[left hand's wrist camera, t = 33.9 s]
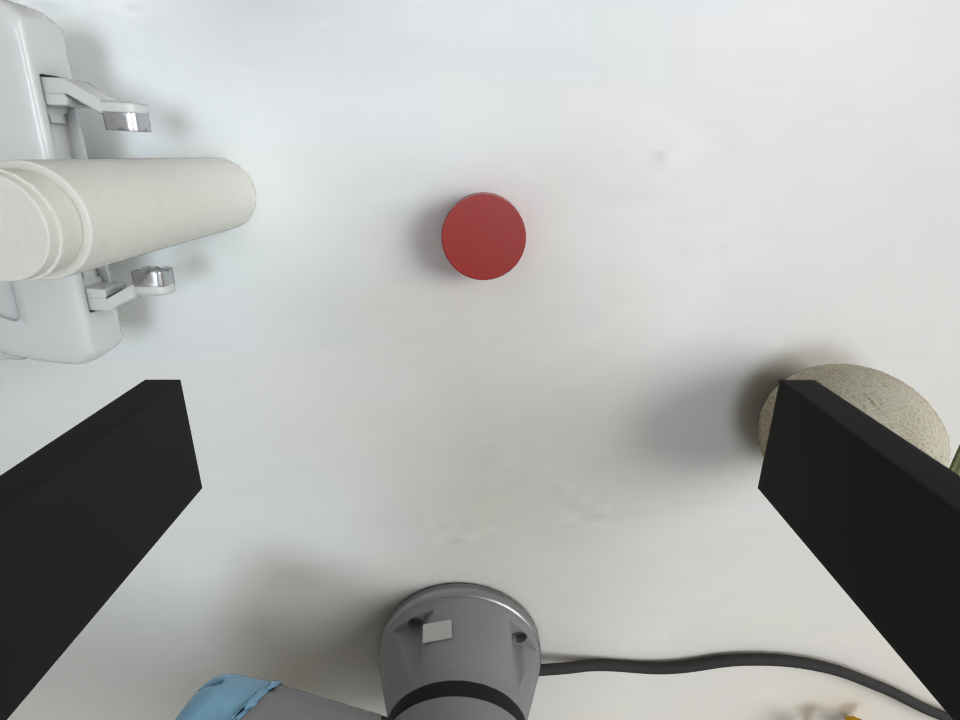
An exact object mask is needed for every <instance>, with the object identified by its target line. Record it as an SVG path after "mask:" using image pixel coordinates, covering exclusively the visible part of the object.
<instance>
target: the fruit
mask: <svg viewBox="0 0 960 720" xmlns="http://www.w3.org/2000/svg"><path fill="white" fill-rule="evenodd" d="M785 380H816V381H817V382H819V383H820V384H822V385H823V386H825V387H826V388H828V389H829V390H831V391H832V392H834V393H835V394H837V395H838V396H840V397H841V398H843V399H844V400H846V401H847V402H849V403H850V404H852V405H854V406H855V407H857V408H858V409H860V410H861V411H863V412H864V413H866V414H867V415H869V416H870V417H872V418H873V419H875V420H876V421H878V422H879V423H881V424H882V425H884V426H885V427H887V428H888V429H890V430H891V431H893V432H894V433H896V434H897V435H899V436H900V437H902V438H903V439H905V440H906V441H908V442H909V443H911V444H912V445H914V446H915V447H917V448H919V449H920V450H922V451H923V452H925V453H926V454H928V455H929V456H931V457H932V458H934V459H935V460H937V461H938V462H940V463H941V464H943V465H944V466H946V467H948V464H949V461H950V453H951V448H950V441H949V436H948V434H947V431H946V429H945V426H944V424H943V423H942V421H941V419H940V418H939V416H938V415H937V413H936V412H935V410H934V409H933V408H932V407H931V405H930V404H929V403H928V402H927V401H926V400H925V399H924V398H923V397H922V396H921V395H920V394H919V393H917V392H916V391H915V390H914V389H913V388H911V387H910V386H908V385H907V384H905V383H904V382H902V381H900V380H899V379H897V378H895V377H892V376H890V375H888V374H886V373H884V372H881V371H878V370H875V369H871V368H867V367H863V366H858V365H849V364H828V365H821V366H816V367H811V368H808V369H805V370H803V371H800V372H797V373H795V374H794V375H792V376H790V377H788V378H787V379H785ZM778 386H779V385H778ZM778 386H777V387H776V388H775V389H774V390H773V391H772V392H771V393H770V395H769V396H768V398H767V400H766V402H765V403H764V405H763V408H762V410H761V413H760V418H759V424H758V436H759V442H760V447H761V451H762V454H763V456H764V455H765V450H766V445H767V440H768V435H769V430H770V425H771V420H772V415H773V410H774V405H775V400H776V395H777V391H778ZM949 469H950V470H952V471H953V472H955V473H956V474H958V475H959V476H960V445H959V447H958V450H957V452H956V454H955V456H954V458H953V461H952V463H951V465H950V468H949Z"/></svg>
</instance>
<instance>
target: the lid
mask: <svg viewBox="0 0 960 720" xmlns="http://www.w3.org/2000/svg"><path fill="white" fill-rule="evenodd" d="M525 242H526V232H525V227H524V223H523V221H522V218H521V216H520V215H519V213H518V211H517V210H516V209H515V207H514V206H513V205H512V204H511V203H510V202H509V201H507V200H506V199H504V198H503V197H501V196H498V195H496V194H492V193H475V194H472V195H469V196H467V197H465V198H463V199H462V200H460V201H459V202H458V203H456V205H455V206H454V207H453V208H452V209H451V211H450V212H449V214H448V216H447V218H446V220H445V222H444V225H443V229H442V245H443V249H444V253H445V255H446V257H447V259H448V260H449V262H450V263H451V265H452V266H453V267H454V268H455V269H456V270H457V271H459V272H460V273H461V274H463V275H465V276H467V277H470V278H473V279H478V280H489V279H494V278H498V277H500V276H502V275H504V274H506V273H507V272H509V271H510V270H511V269H512V268H513V267H514V266H515V265H516V264H517V263H518V261H519V260H520V258H521V256H522V254H523V251H524V248H525Z"/></svg>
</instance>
